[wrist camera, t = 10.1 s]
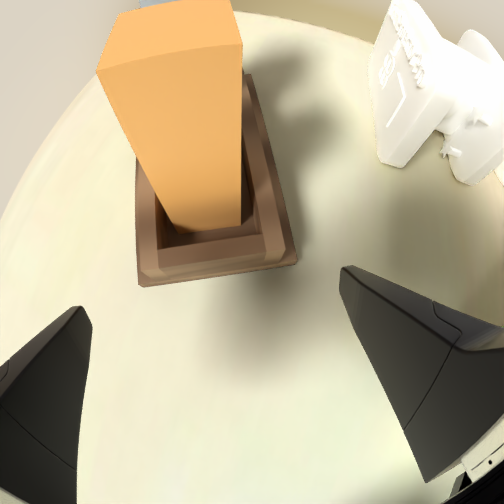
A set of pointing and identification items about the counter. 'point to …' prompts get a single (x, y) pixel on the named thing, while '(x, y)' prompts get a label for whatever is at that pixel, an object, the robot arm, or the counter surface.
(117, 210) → the counter surface
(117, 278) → the counter surface
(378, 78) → the cable organizer
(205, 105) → the orange plug
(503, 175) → the bottle
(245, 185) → the brown wooden tray
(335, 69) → the counter surface
